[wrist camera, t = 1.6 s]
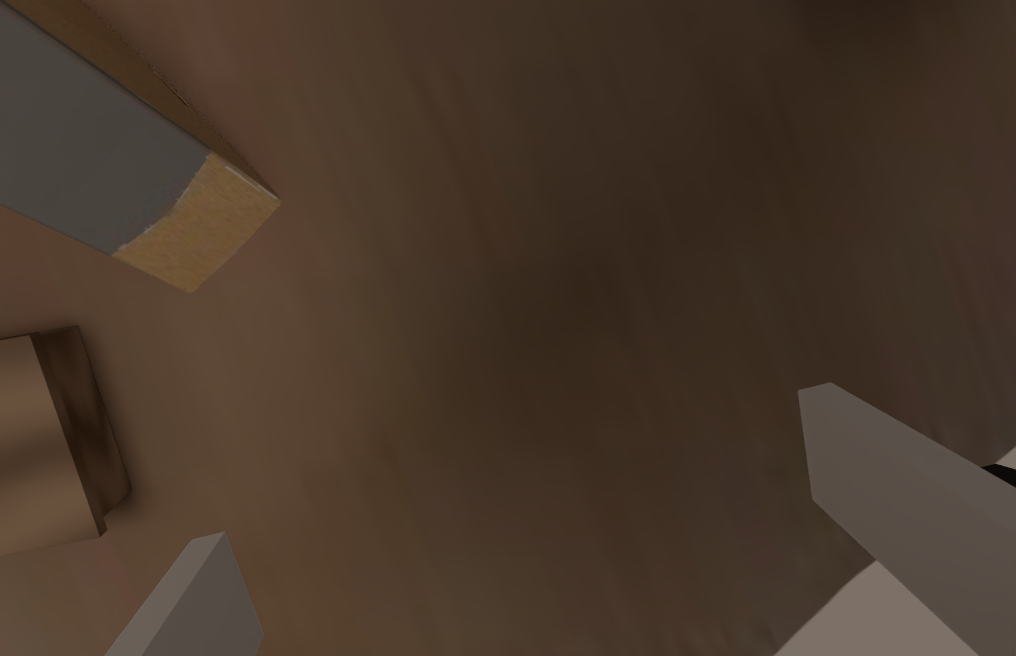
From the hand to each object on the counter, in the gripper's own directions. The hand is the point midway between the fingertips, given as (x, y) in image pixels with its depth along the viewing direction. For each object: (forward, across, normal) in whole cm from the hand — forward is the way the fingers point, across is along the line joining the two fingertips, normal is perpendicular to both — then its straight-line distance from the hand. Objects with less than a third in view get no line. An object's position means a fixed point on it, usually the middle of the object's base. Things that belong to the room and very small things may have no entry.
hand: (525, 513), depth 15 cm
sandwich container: (+27, -18, +13) cm, 35 cm away
